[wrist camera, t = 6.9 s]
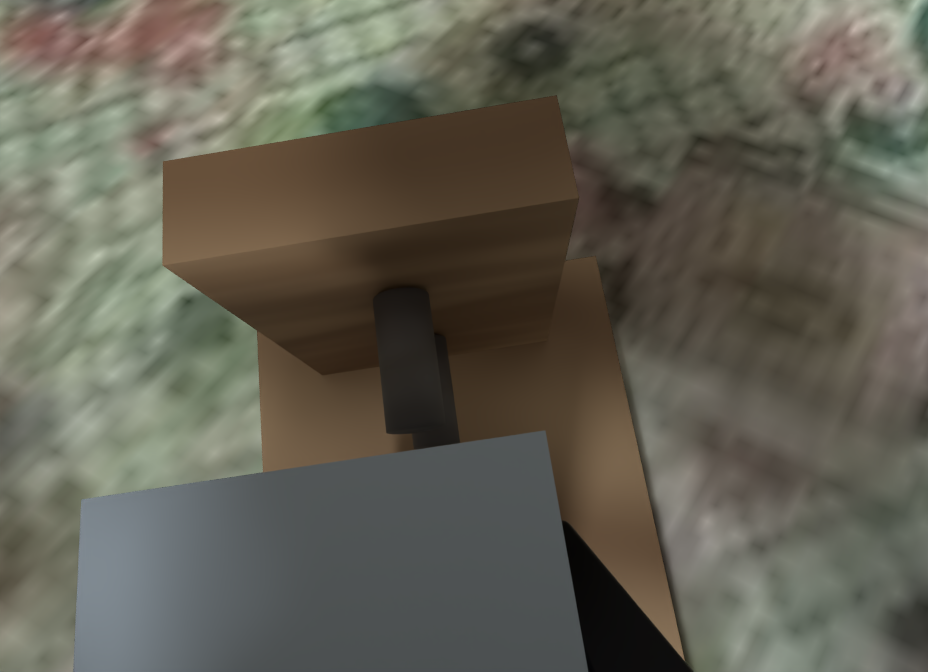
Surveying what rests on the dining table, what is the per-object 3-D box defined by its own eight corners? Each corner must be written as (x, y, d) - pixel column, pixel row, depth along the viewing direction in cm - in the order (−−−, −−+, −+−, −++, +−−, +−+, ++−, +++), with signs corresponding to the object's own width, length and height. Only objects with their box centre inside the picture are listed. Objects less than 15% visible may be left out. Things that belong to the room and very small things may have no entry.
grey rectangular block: (556, 699, 14) (696, 1271, 4) (391, 721, 14) (40, 1338, 4) (521, 484, 15) (544, 430, 5) (371, 506, 16) (81, 499, 5)
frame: (712, 835, 15) (1046, 1383, 6) (298, 887, 16) (-31, 1482, 6) (590, 270, 20) (665, 51, 10) (270, 320, 20) (55, 155, 11)
